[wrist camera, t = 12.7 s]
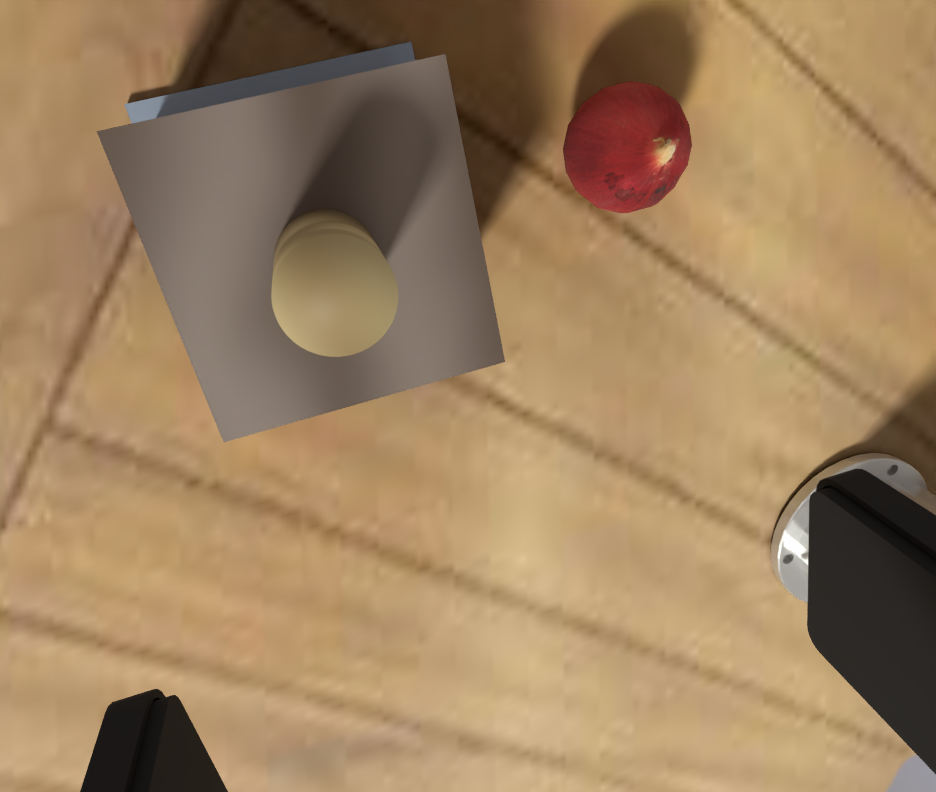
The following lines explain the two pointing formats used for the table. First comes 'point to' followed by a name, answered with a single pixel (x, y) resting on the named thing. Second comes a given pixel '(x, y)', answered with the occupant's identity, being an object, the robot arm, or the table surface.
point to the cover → (314, 242)
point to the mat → (269, 82)
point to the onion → (627, 147)
